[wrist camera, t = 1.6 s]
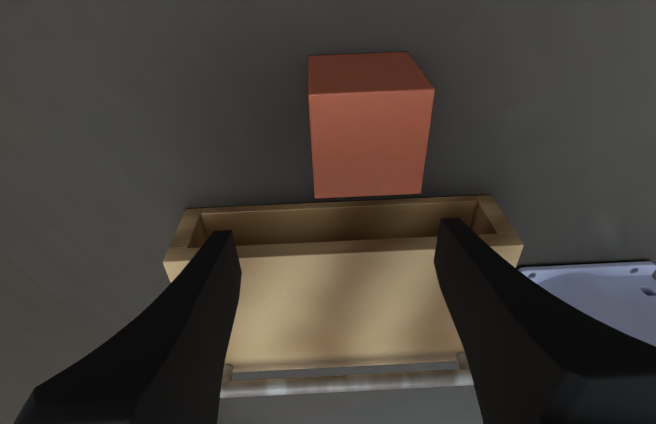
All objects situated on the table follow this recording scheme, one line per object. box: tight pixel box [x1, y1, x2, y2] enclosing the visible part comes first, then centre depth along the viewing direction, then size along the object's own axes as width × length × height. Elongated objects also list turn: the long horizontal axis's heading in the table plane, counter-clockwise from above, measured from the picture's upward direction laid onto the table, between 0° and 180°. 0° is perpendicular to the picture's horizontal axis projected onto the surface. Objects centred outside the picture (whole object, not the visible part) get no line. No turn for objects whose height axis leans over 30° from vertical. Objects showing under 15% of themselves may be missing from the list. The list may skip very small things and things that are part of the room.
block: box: [308, 52, 435, 198], centre depth 17 cm, size 5×5×5 cm
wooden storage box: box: [163, 195, 524, 398], centre depth 23 cm, size 18×10×6 cm, turn 92°
